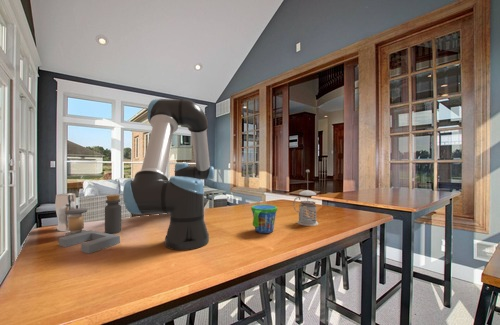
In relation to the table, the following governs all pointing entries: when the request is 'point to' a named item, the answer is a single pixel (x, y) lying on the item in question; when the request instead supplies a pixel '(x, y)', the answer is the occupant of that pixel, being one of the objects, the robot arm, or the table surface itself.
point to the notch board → (97, 243)
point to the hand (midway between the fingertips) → (134, 199)
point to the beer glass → (64, 209)
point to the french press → (307, 208)
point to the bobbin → (75, 220)
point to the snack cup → (264, 218)
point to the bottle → (113, 215)
